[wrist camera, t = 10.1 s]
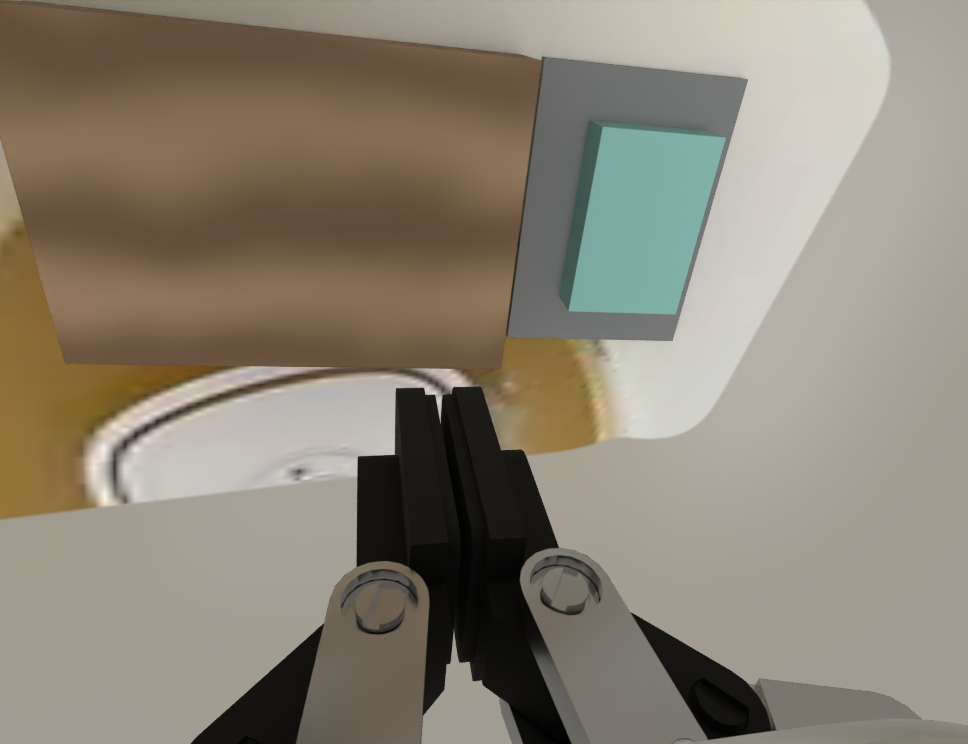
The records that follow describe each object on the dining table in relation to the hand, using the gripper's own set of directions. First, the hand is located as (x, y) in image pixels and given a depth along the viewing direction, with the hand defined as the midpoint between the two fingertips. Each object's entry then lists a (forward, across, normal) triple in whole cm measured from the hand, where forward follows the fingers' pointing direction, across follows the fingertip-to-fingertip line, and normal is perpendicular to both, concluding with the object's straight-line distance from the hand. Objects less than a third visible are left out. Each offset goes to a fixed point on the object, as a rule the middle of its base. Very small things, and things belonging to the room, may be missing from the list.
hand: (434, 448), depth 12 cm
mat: (+20, -12, +1) cm, 23 cm away
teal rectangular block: (+18, -12, +1) cm, 21 cm away
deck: (+20, +4, +1) cm, 21 cm away
